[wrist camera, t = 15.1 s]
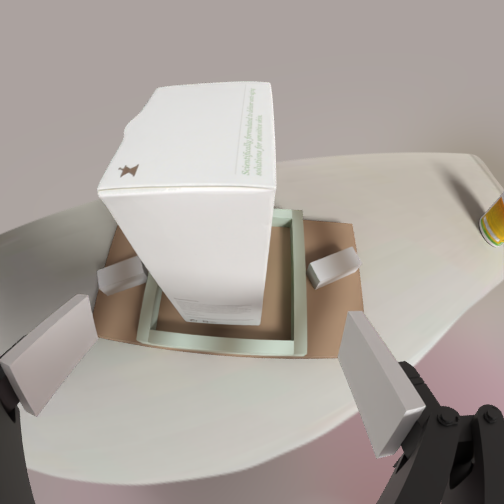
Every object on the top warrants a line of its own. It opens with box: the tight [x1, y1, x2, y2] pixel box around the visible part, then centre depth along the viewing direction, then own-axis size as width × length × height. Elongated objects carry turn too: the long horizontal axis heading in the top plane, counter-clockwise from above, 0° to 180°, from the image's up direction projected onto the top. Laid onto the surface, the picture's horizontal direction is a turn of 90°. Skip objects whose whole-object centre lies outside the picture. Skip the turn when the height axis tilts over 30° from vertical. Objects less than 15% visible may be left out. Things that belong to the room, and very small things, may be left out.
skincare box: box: [97, 81, 276, 325], centre depth 17 cm, size 8×7×16 cm
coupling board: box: [93, 209, 364, 359], centre depth 23 cm, size 24×13×3 cm, turn 87°
